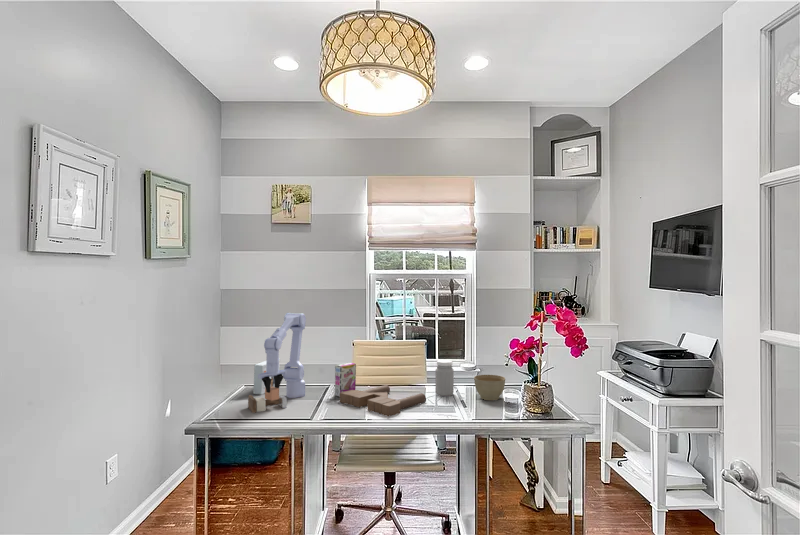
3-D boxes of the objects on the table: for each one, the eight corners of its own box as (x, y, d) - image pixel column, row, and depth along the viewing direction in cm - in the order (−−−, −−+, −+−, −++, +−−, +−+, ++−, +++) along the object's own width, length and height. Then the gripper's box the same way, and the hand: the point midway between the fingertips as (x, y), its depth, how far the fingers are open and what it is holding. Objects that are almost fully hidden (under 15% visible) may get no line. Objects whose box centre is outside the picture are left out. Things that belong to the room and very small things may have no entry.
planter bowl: (495, 393, 254) (495, 373, 254) (511, 401, 238) (511, 380, 238) (468, 395, 249) (468, 375, 249) (483, 403, 233) (483, 382, 234)
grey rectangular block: (283, 404, 228) (283, 395, 228) (286, 407, 223) (286, 398, 223) (279, 404, 227) (279, 395, 227) (282, 408, 222) (282, 398, 222)
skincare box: (262, 395, 249) (262, 365, 249) (252, 394, 250) (253, 364, 250) (280, 385, 270) (280, 358, 270) (271, 385, 271) (271, 357, 271)
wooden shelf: (285, 404, 232) (285, 390, 232) (291, 409, 223) (291, 395, 223) (248, 409, 223) (248, 395, 223) (252, 414, 214) (252, 400, 214)
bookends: (389, 417, 212) (429, 404, 234) (389, 405, 213) (429, 393, 234) (339, 403, 236) (380, 392, 258) (339, 392, 236) (380, 382, 258)
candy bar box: (340, 397, 244) (340, 366, 244) (334, 396, 247) (334, 365, 247) (356, 393, 252) (356, 363, 253) (350, 392, 256) (350, 362, 256)
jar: (456, 393, 253) (456, 360, 254) (449, 397, 245) (449, 363, 245) (439, 391, 258) (439, 358, 258) (432, 395, 249) (432, 361, 249)
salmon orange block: (272, 396, 226) (272, 386, 227) (279, 399, 222) (279, 388, 222) (265, 398, 224) (265, 388, 224) (271, 400, 219) (271, 390, 219)
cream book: (262, 407, 223) (262, 397, 223) (265, 411, 218) (265, 400, 218) (253, 409, 221) (253, 398, 221) (256, 412, 216) (256, 401, 216)
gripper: (281, 359, 231) (281, 387, 231) (254, 363, 220) (254, 392, 220) (289, 361, 226) (289, 389, 226) (262, 366, 215) (262, 395, 215)
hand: (272, 391), depth 223 cm, fingers closed on salmon orange block, 4 cm apart
